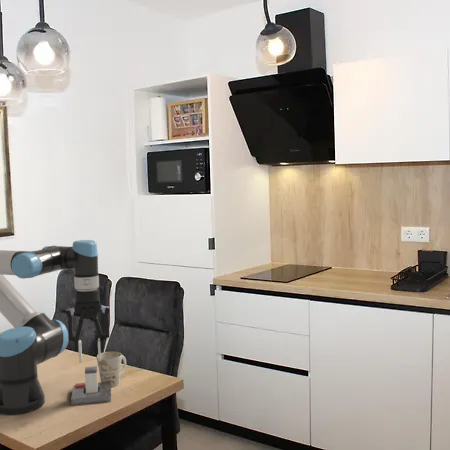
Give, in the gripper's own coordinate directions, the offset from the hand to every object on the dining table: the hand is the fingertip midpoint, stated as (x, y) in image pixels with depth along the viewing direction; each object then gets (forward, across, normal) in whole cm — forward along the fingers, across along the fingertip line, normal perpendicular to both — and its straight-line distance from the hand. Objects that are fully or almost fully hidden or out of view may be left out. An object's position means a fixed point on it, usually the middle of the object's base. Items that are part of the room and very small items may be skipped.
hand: (90, 360), depth 186 cm
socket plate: (+12, 0, 0) cm, 12 cm away
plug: (+12, 0, 0) cm, 12 cm away
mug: (+12, +7, +11) cm, 18 cm away
